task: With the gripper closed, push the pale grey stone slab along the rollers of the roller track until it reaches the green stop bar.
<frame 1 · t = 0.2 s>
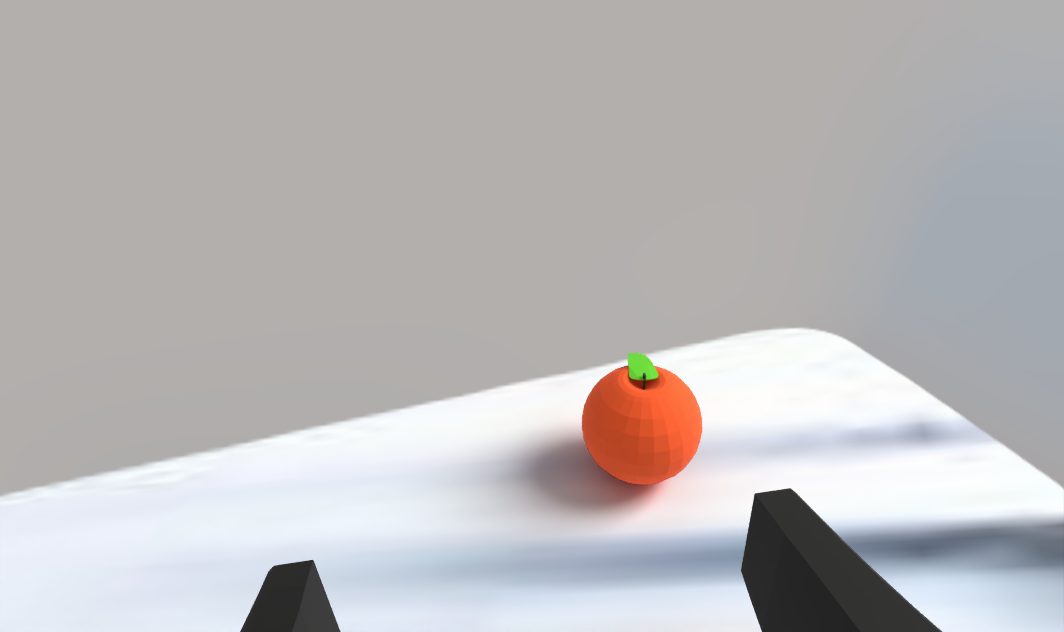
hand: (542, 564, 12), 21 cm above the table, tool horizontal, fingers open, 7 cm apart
clementine: (636, 462, 43), on the table
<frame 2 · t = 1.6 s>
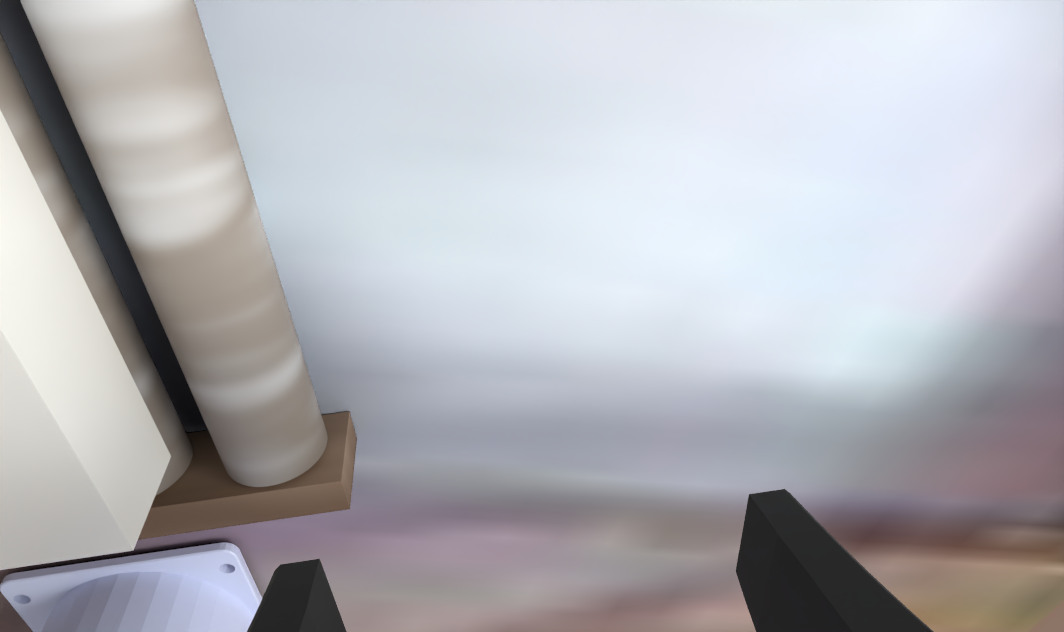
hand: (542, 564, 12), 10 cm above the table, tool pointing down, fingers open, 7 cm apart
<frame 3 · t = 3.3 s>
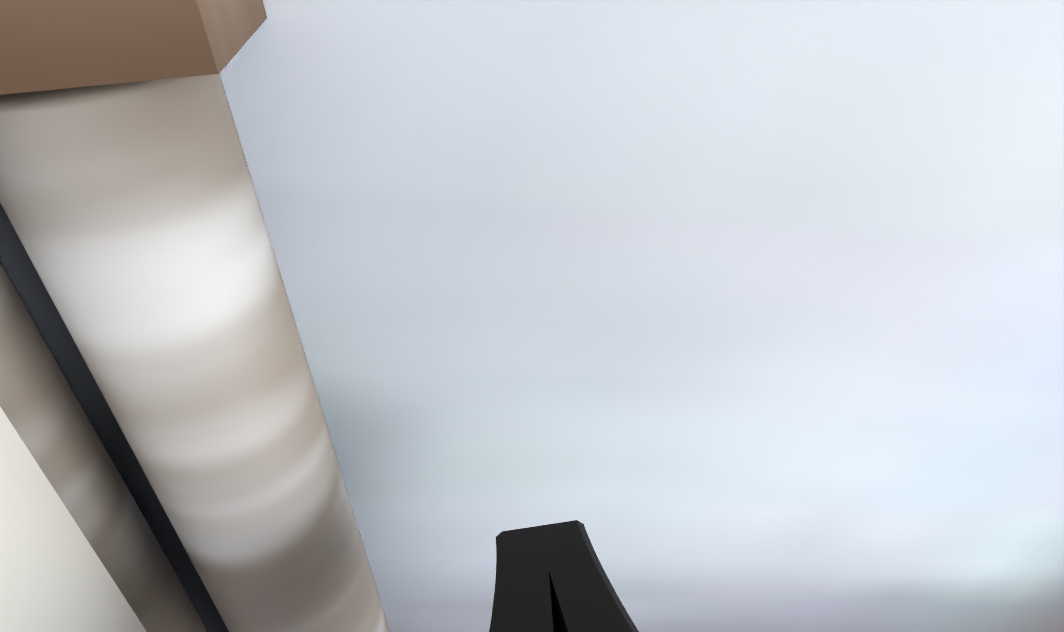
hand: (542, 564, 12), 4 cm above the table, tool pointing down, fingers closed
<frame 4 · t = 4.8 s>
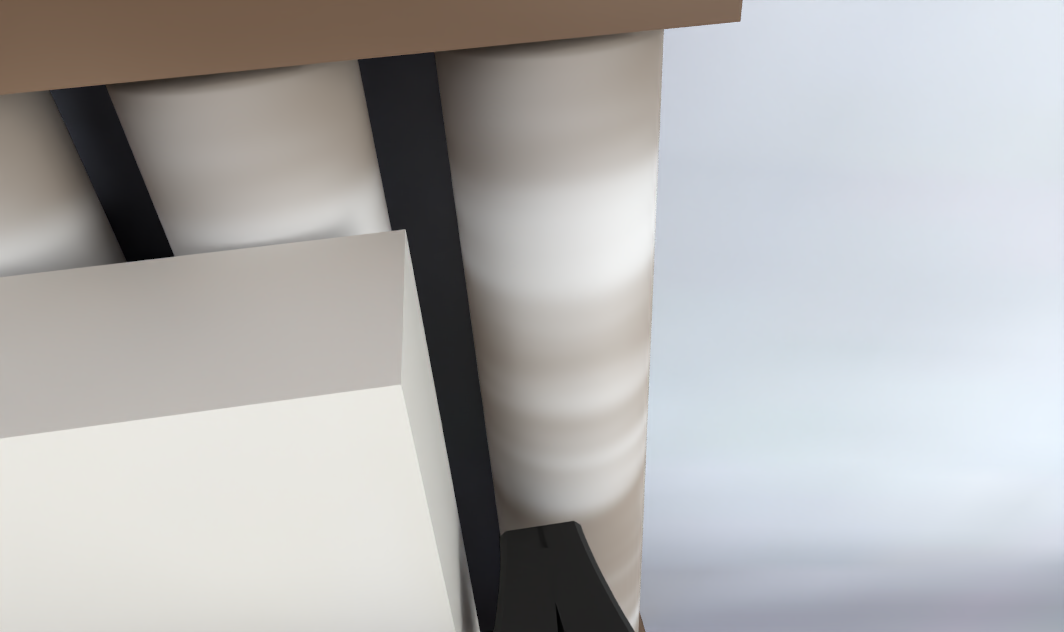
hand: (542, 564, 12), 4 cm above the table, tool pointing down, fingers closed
roller track: (63, 470, 14), on the table
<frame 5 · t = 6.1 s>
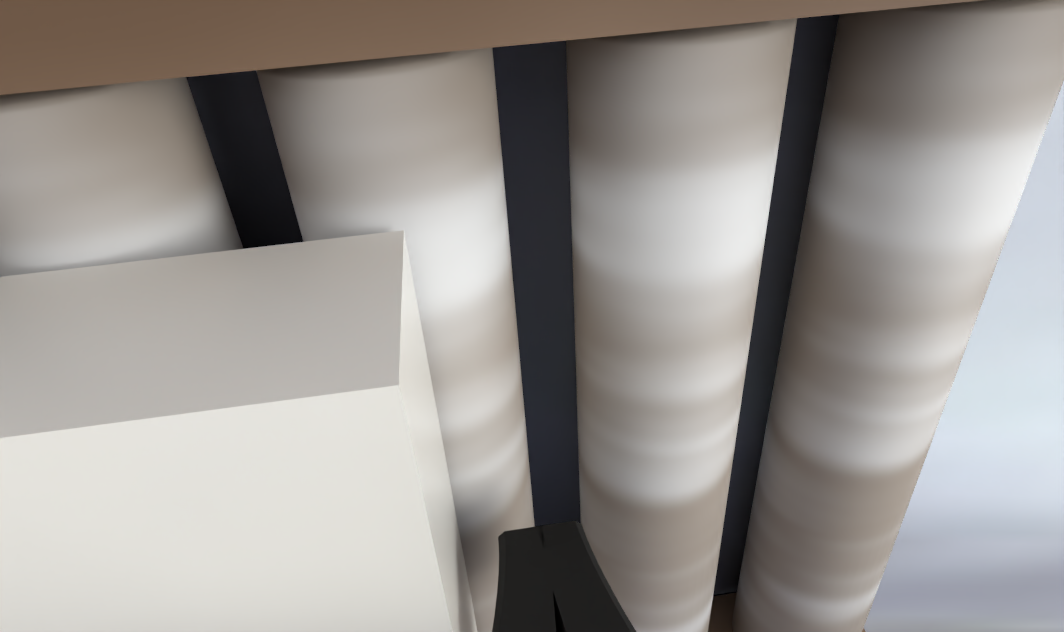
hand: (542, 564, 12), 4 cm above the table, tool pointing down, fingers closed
roller track: (351, 430, 14), on the table
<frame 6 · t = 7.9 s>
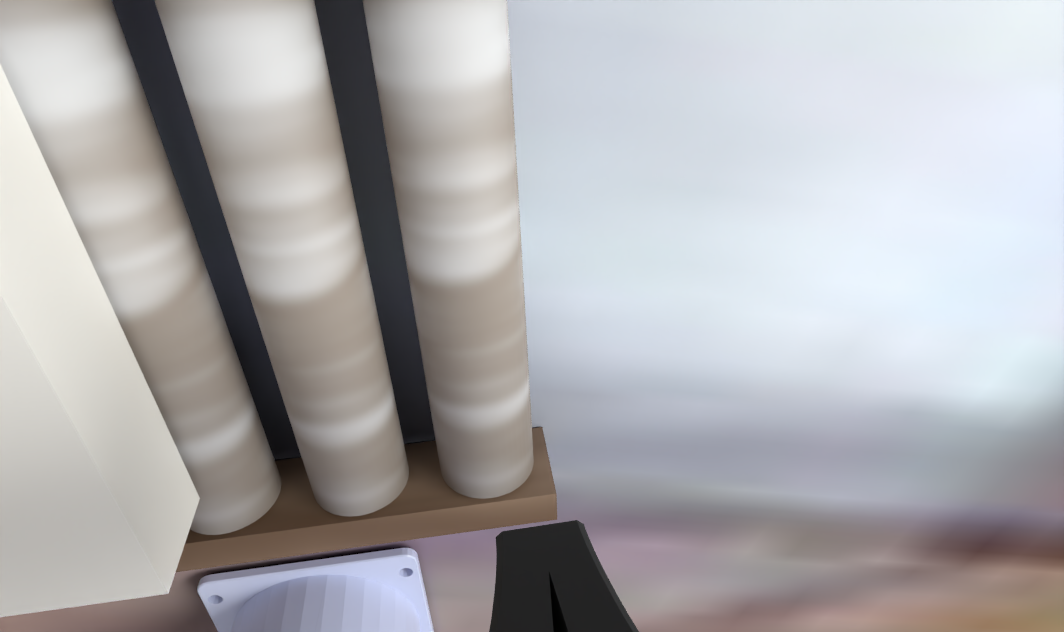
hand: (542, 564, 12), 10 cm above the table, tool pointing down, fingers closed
roller track: (82, 261, 18), on the table
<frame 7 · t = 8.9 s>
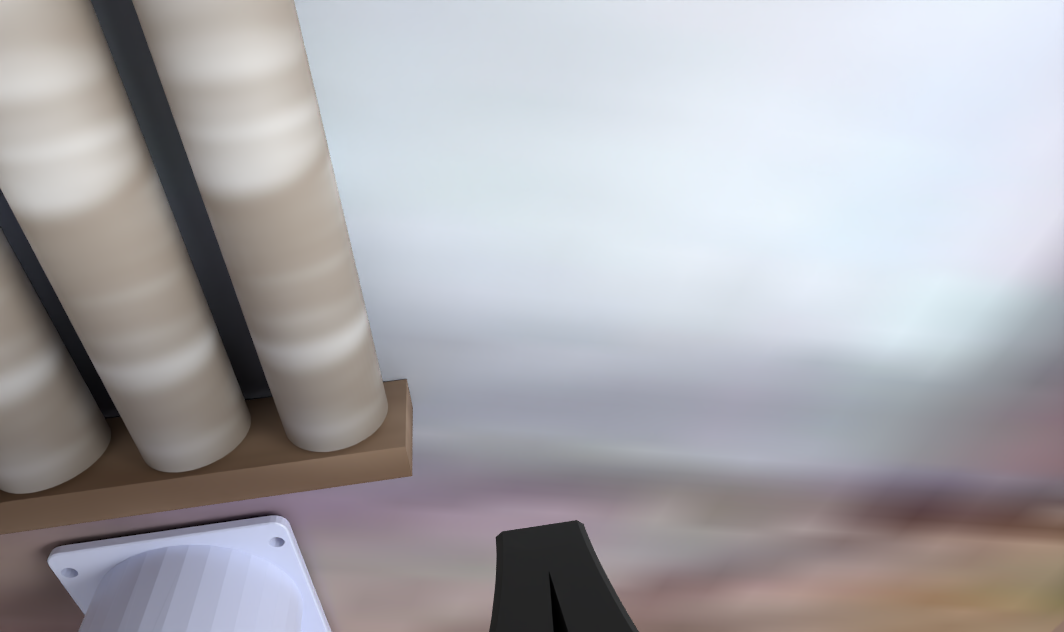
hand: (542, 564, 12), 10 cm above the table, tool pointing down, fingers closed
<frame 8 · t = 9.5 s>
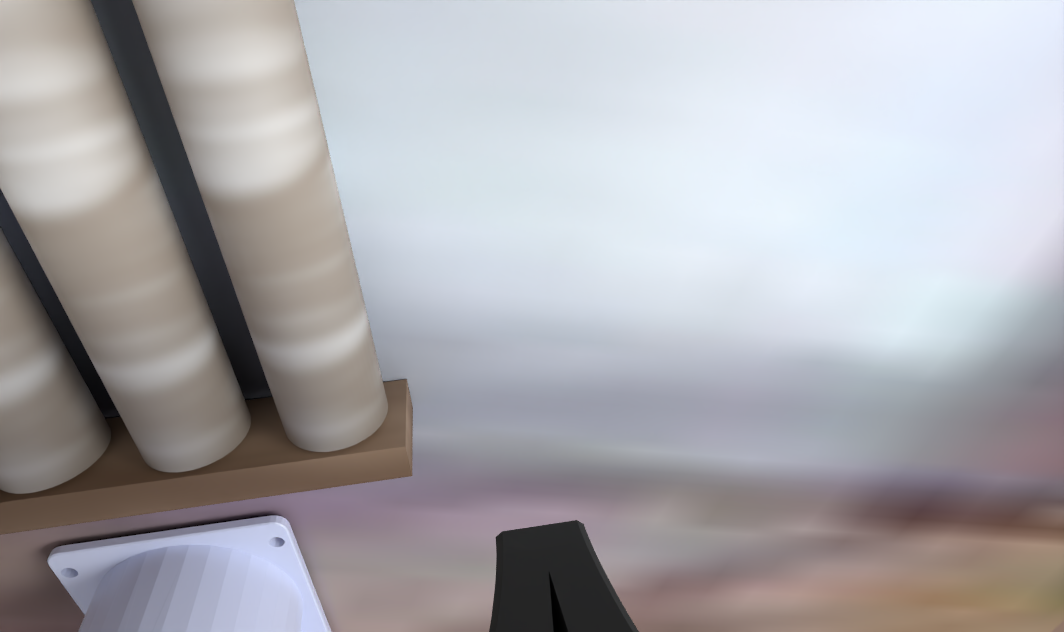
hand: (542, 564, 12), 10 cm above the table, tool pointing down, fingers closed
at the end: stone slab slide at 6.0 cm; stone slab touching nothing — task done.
